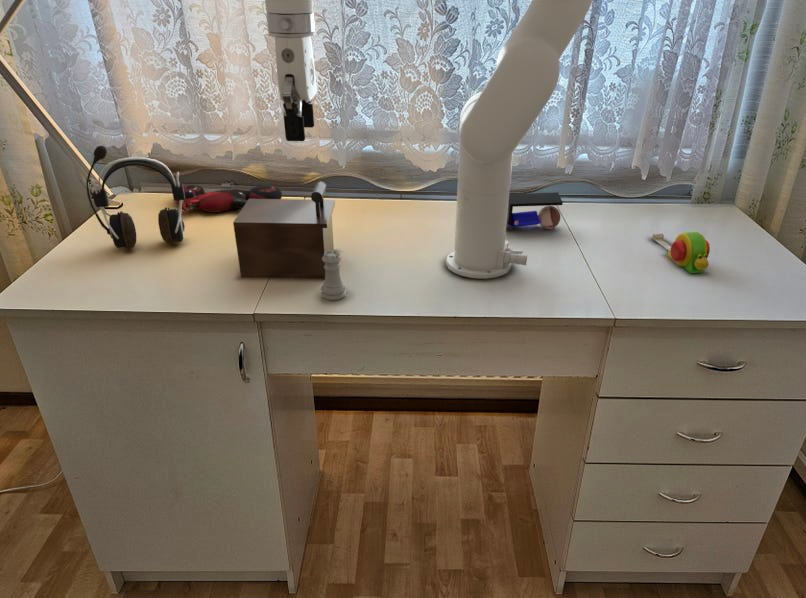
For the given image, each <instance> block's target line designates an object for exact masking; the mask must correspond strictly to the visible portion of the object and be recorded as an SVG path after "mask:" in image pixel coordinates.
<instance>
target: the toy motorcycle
mask: <svg viewBox="0 0 806 598" xmlns="http://www.w3.org/2000/svg"><path fill="white" fill-rule="evenodd" d="M182 185H183V184H182ZM183 188H184V193H185V200H182V211H183V212H186V213H188V212H189V211H188V209H189V210H195V209H201V210H203V211H206V212H209V213H220V212H224V211H228V210H229V211H230V210H235V209H242V208H243V207H244V205H245V204H246V202H247V201H248V199H283V193H282V191H281V189H280V188H279V187H277V186H274V185H272V184H261V185H256V186H253V187H252V188H251V189H239V188H233V189H231V188H230V189H229V188H228V189H219V190H215V191H209V192H205V189H204V188H203V186H201V185H197V184H184V185H183ZM175 202H176V203H175V204H176V205H177V207H178V208H179V201H175Z"/></svg>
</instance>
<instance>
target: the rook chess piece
mask: <svg viewBox="0 0 806 598" xmlns="http://www.w3.org/2000/svg"><path fill="white" fill-rule="evenodd" d="M322 260H323V261H324V263H325V266H324V268H325V279H324V280H323V282H322V285H321V288H320V291H321V293H320V295H321V297H322V298H323V299H325V300H327V301H330V302H331V301H332V302H333V301H334V302H335V301H340V300H342V299H344V298H345V297H346V296H347V291H346V289H347V286H346V284H345V283H344V281H343V280H342V276H341V271H340V270H341V269H340V268H341V265H340V262H341V260H342V256H341V255H340V253H339V251H337V250H334V251H333V253H331V250H330V251H328V253H327V252H324V256H323V258H322Z"/></svg>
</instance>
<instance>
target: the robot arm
mask: <svg viewBox="0 0 806 598" xmlns="http://www.w3.org/2000/svg"><path fill="white" fill-rule="evenodd" d="M593 1H594V0H531V2H530V3H529V6H528V7H527V9H526V11H525V13H524V14H523V15H522V17H521V19H520V20H519V22H518V23H517V25H516V26H515V28H514V30H513V32H512V33H511V35H510V36H509V37H508V39H507V40H506V42H505V43H504V44H503V46H502V47H501V48H500V50H499V53H498V55H497V59H496V67H495V69H494V70H493V72H492V73H491V75H490V77H489V78H488V81H487V82H486V83H485V85H484V87H483V88H482V90H481V91H480V92H478V93H476V94H474V95H472V96H471V97H470V98H469V99H468V100H467V101H466V103H465V104H464V106H463V107H462V110H461V113H460V117H459V142H458V143H459V144H458V148H459V149H458V153H459V154H458V169H457V188H456V189H457V190H456V211H455V236H454V251H452V252H450V253H449V254H448V255H447V256H446V259H445V265H446V267H447V269H448V270H450V271H451V273H454V274H456V275H458V276H461V277H465V278H470V279H478V280H482V279H484V280H486V279H494V278H498V277H501V276H504V275H507V273H509V272H510V271H511V269H512V264H516V265H521V266H527V262H528V254H523V251H524V250H520V249H512V248H511V247H509V241H508V240H506V237H507V229H506V227H508V225H507V215H508V203H509V194H510V193H511V192H510V191H511V185H512V171H513V157H514V156H513V155H514V152H515V150H516V149H517V148H518V146H519V145H520V143H522V141H523V139H524V138H525V136H526V135H527V133H529V131H530V129H531V128H532V126H533V124H534V123H535V122H536V120H537V118H538V117H539V116H540V114H541V113H542V111H543V109H544V108H545V106H547V104H548V102H549V100H550V99H551V97H552V96H553V93H554V91H555V89H556V87H557V85H558V83H559V79H560V75H561V65H560V59H561V58H562V56H563V54H564V52H565V50H566V49H567V48H568V46H569V44H570V43H571V41H572V39H573V38H574V37H575V34H576V32H577V31H578V29H579V28H580V26H581V24H582V23H583V21H584V20H585V18H586V15H588V12H589V10H590V8H591V6H592V4H593ZM264 5H265V6H264V7H265V16H266V24H267V34H268V36H270V37H272V38H273V37H274V47H275V48H274V51H275V64H276V75H277V86H278V94H279V97H280V100H281V101H282V102H283V103H282V106H283V111H282V114H283V124H284V134H285V136H284V137H285V140H286V142H304V141H305V140H306V132H305V128H306V129H307V128H308V129H309V128H314V127H315V116H314V115H315V114H314V104H313V103H312V102H313V98H314V97H315V96H316V95H317V92H318V84H317V75H316V67H315V66H316V65H315V57H314V56H315V55H314V50H313V49H314V48H313V43H312V42H313V41H312V37H314V36H316V28H315V27H316V26H315V25H316V24H315V14H314V0H264Z"/></svg>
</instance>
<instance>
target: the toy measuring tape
mask: <svg viewBox="0 0 806 598" xmlns="http://www.w3.org/2000/svg"><path fill="white" fill-rule="evenodd" d="M651 237H652V241H655V242H656V243H658V244H659V245H661V246H662V248H664V249H665V250H667V251H668V252H667V257H668V258H670V259H671V260H672V262H674V263H675V264H676V265H678V266H680V267H682V268H684V269H685V270H686V271H687V272H688V273H689V274H700V273H703V272H704V270H705V269H707V268H708V266H709V260H708V258H709V255H710V253H711V251H710V250H711V247H710V242H709V241H708V240H707V239H706V238H705V236H704V235H703V234H702V233H700V232H698V231H689V232H688V231H687V232H683V233H680V234H678V235H677V237H676V238H675V240H674V241H673V242H672V243H671V245H670V244H669V243H667V242H666V241H665V240H664V237H665V236H664V233H653V234H652V235H651Z"/></svg>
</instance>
